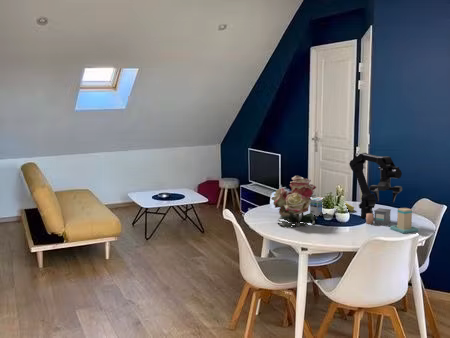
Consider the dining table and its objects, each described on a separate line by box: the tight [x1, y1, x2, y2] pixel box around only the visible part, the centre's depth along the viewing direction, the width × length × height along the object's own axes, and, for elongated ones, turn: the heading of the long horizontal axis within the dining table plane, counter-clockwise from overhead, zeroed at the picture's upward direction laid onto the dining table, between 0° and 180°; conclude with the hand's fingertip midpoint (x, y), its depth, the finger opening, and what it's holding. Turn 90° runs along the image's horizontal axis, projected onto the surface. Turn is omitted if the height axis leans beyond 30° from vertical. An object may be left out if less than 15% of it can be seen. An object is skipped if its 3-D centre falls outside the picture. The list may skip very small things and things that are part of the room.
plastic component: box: [344, 201, 355, 212], centre depth 350 cm, size 20×7×10 cm
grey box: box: [373, 207, 392, 226], centre depth 309 cm, size 8×9×8 cm
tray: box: [389, 224, 420, 234], centre depth 292 cm, size 11×11×2 cm
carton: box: [396, 207, 413, 230], centre depth 291 cm, size 6×6×12 cm
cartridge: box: [365, 213, 375, 225], centre depth 309 cm, size 4×4×6 cm
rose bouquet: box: [271, 175, 318, 228], centre depth 312 cm, size 26×29×30 cm
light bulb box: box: [309, 196, 324, 217], centre depth 335 cm, size 11×7×11 cm, turn 131°
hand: (385, 202), depth 309 cm, fingers open, 9 cm apart
